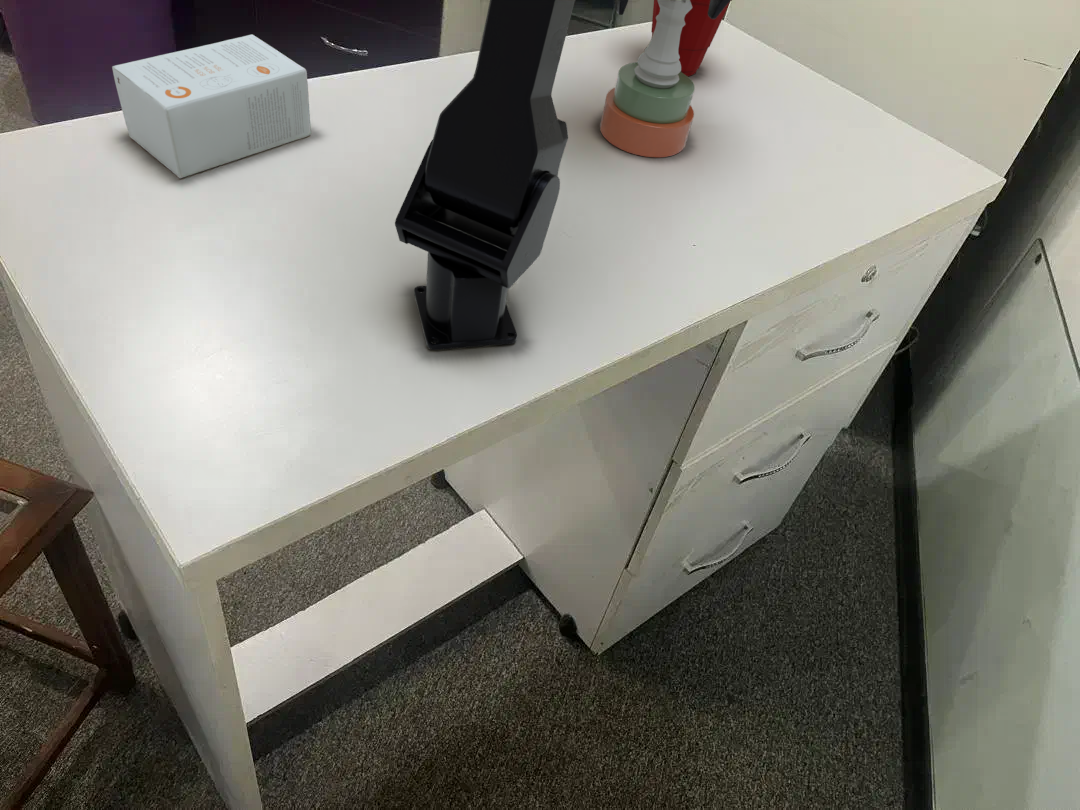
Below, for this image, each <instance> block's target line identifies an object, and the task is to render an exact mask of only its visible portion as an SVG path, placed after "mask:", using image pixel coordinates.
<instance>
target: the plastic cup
mask: <svg viewBox="0 0 1080 810" xmlns="http://www.w3.org/2000/svg"><path fill="white" fill-rule="evenodd" d="M732 1H733V0H731V1H730V2H729V3H728V4H727V6H726V7H725V8H724V9H723V10H722V12H721V13H720V14H719V15H718V17H717V18H716V19H711V18H710V17H709V16H708V9H709V4H710V0H690V2H691V5H692V9H691V10H690V11H689V12H688V13H687V14H686V15H685V18H684V21H685V25H684V26H683V27H682V31H681V34H680V41H679V49H678V54H679V56H680V58H679V61H680V64H681V71H680V72H682V73H683V74H685V75H686V76H688V77H692V76H693V75H696V74H697V71H698V69H700V67H701V64H702V63H703V60H704V58H705V55H706V53H707V51H708V49H709V48H710V47H711V45H712V42H713V40H714V38H715V36H716V34H717V32H718V29H719V27H720V25H721V23H722V21H723V19H724V17H725V14H726V12H727V10H728V7H730V3H731V2H732ZM659 12H660V7H659V4H658V0H653V9H652V18H651V37H652V36H653V33H654V31H655V27H656V23H657V20H656V16H657V15H658V14H659Z"/></svg>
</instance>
